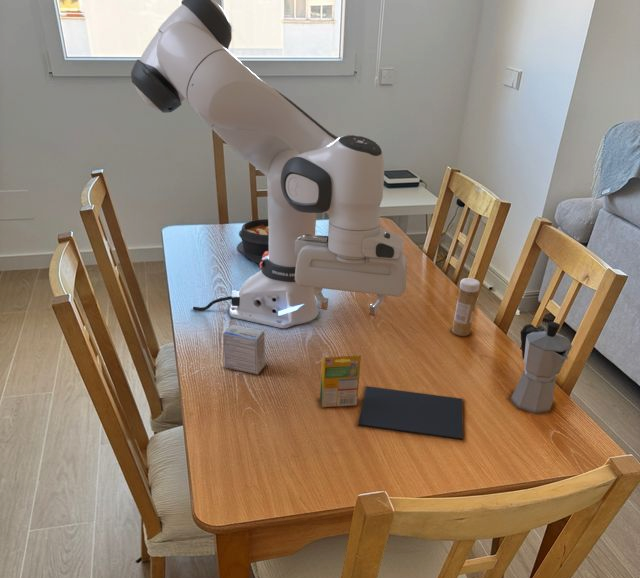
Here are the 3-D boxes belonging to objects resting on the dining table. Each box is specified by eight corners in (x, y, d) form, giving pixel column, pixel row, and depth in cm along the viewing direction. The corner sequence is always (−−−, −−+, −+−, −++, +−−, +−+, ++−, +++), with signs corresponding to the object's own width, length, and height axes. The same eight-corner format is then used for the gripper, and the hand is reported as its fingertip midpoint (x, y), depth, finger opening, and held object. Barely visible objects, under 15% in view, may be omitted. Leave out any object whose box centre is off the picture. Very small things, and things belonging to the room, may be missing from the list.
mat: (358, 425, 122) (358, 424, 122) (366, 387, 133) (366, 386, 133) (462, 440, 120) (462, 438, 120) (461, 400, 131) (462, 398, 131)
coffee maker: (567, 415, 128) (593, 337, 118) (529, 421, 126) (553, 341, 115) (527, 377, 140) (548, 303, 129) (492, 382, 137) (510, 306, 127)
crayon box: (354, 397, 130) (358, 348, 123) (357, 405, 128) (361, 355, 121) (319, 399, 129) (321, 349, 122) (321, 408, 127) (324, 357, 120)
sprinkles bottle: (473, 334, 156) (484, 282, 148) (460, 338, 153) (470, 286, 145) (460, 326, 159) (470, 275, 151) (447, 330, 156) (456, 279, 148)
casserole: (306, 268, 184) (307, 240, 179) (242, 271, 180) (242, 243, 175) (289, 238, 204) (289, 212, 199) (231, 241, 200) (230, 214, 195)
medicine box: (265, 365, 139) (265, 330, 134) (257, 375, 135) (256, 339, 130) (233, 358, 141) (231, 323, 136) (224, 368, 137) (222, 332, 132)
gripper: (291, 239, 109) (290, 312, 117) (409, 251, 106) (400, 325, 114) (298, 227, 114) (297, 298, 122) (412, 238, 111) (403, 310, 119)
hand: (348, 311), depth 118 cm, fingers open, 8 cm apart
